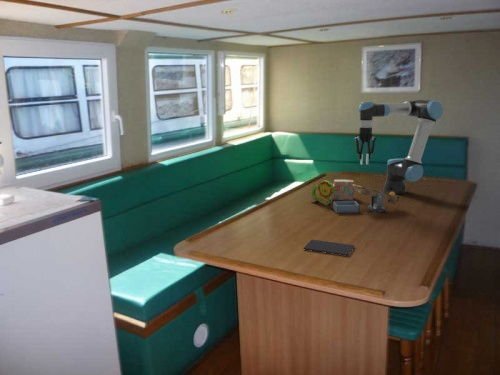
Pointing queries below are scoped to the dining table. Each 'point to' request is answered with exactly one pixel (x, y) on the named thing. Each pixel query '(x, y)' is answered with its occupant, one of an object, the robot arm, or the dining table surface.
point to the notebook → (329, 247)
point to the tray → (346, 207)
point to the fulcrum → (377, 203)
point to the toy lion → (323, 192)
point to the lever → (374, 193)
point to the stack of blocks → (343, 190)
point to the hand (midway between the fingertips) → (364, 164)
